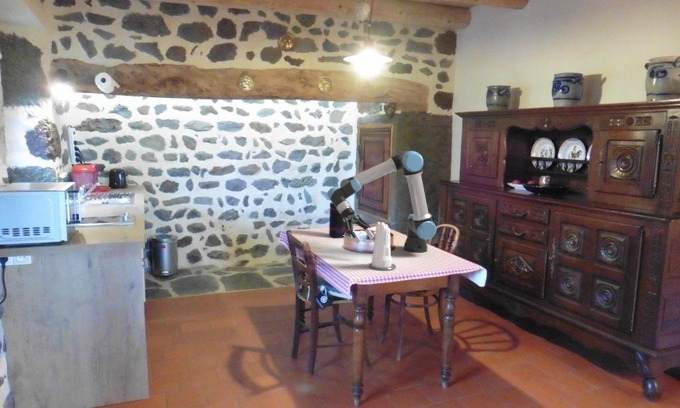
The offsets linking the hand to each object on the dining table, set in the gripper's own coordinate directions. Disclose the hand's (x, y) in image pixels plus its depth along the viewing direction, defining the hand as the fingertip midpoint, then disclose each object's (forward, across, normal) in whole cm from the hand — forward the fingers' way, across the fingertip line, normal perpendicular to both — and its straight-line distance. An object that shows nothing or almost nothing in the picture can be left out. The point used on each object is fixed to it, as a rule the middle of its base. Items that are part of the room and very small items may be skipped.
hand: (366, 240), depth 274 cm
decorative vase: (+17, 0, -1) cm, 17 cm away
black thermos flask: (-29, -44, -48) cm, 71 cm away
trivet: (+18, 0, -1) cm, 18 cm away
